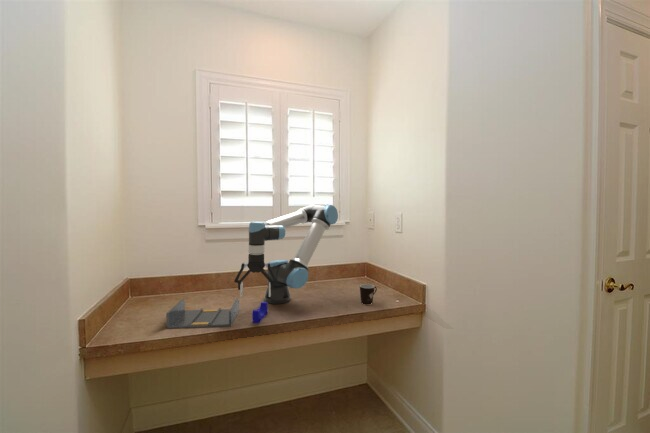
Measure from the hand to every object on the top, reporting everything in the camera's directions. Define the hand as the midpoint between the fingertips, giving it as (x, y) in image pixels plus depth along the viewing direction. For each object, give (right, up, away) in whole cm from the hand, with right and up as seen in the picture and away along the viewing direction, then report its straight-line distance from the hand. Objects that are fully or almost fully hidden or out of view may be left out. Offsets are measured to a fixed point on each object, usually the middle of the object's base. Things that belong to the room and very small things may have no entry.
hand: (255, 296), depth 135 cm
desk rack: (-24, -10, -2) cm, 26 cm away
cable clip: (+1, -11, +1) cm, 11 cm away
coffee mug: (+60, -11, +24) cm, 65 cm away
